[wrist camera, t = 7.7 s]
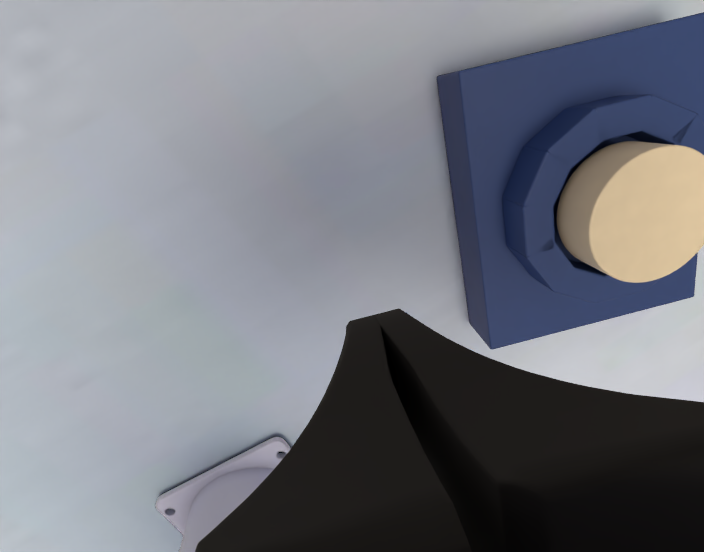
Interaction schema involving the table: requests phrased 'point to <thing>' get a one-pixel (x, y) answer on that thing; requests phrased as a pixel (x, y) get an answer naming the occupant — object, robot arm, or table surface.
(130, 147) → the table surface
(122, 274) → the table surface
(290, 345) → the table surface
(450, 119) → the button base
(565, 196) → the disc
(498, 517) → the robot arm
